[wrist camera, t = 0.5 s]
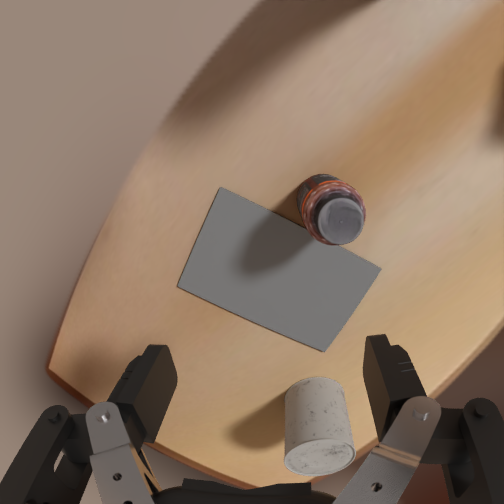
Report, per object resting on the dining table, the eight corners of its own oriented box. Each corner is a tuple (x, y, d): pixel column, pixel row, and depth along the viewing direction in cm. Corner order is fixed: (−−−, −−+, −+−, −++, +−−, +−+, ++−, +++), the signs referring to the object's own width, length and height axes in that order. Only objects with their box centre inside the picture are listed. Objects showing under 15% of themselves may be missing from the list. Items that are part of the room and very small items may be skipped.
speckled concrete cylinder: (341, 414, 47) (351, 472, 35) (285, 418, 48) (284, 477, 36) (346, 374, 44) (361, 435, 32) (283, 378, 45) (283, 442, 33)
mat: (220, 186, 36) (220, 187, 36) (380, 268, 38) (381, 269, 38) (178, 284, 41) (177, 286, 40) (324, 350, 42) (324, 352, 42)
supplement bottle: (301, 228, 37) (310, 262, 26) (291, 178, 35) (297, 192, 25) (350, 219, 36) (378, 249, 26) (342, 169, 34) (369, 180, 24)
